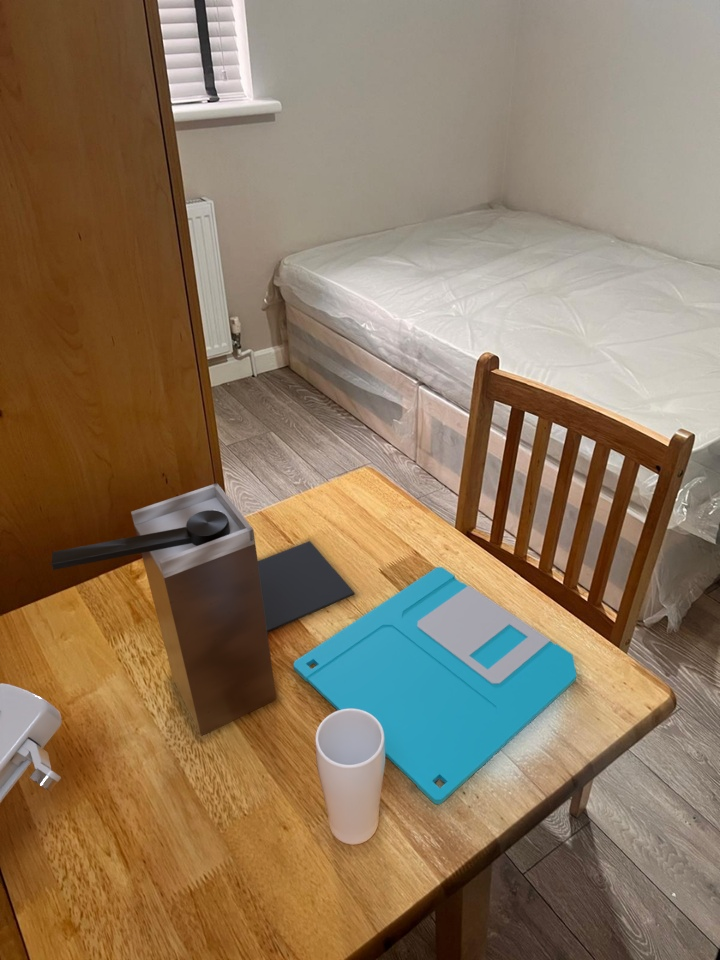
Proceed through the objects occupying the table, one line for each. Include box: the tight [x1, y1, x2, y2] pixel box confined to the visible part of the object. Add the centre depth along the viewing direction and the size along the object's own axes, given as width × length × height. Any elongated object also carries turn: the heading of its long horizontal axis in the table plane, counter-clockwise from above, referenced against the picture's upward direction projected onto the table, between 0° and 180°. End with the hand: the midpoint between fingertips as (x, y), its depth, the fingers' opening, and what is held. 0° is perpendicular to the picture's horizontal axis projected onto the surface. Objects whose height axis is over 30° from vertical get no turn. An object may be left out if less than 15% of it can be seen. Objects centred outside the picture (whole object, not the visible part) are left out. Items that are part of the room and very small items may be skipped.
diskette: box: [293, 566, 578, 805], centre depth 95 cm, size 26×28×1 cm
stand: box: [130, 482, 277, 737], centre depth 85 cm, size 10×10×28 cm
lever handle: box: [50, 510, 230, 571], centre depth 76 cm, size 18×4×2 cm, turn 106°
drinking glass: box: [314, 709, 386, 846], centre depth 74 cm, size 7×7×15 cm
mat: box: [258, 540, 355, 633], centre depth 107 cm, size 24×14×1 cm, turn 121°
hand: (14, 832), depth 63 cm, fingers open, 8 cm apart
